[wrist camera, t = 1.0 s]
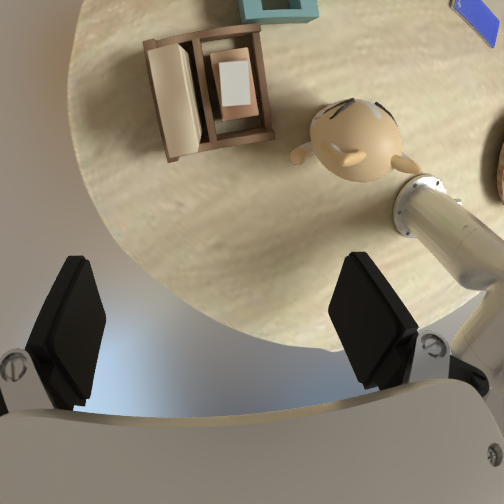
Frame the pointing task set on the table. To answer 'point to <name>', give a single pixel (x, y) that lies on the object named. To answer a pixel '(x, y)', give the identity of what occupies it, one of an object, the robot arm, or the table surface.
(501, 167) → the ceramic bowl
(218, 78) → the offcut
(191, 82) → the wooden board
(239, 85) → the offcut
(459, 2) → the hard drive
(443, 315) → the table surface
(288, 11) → the stand
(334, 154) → the kitten
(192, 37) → the rack
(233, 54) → the offcut
